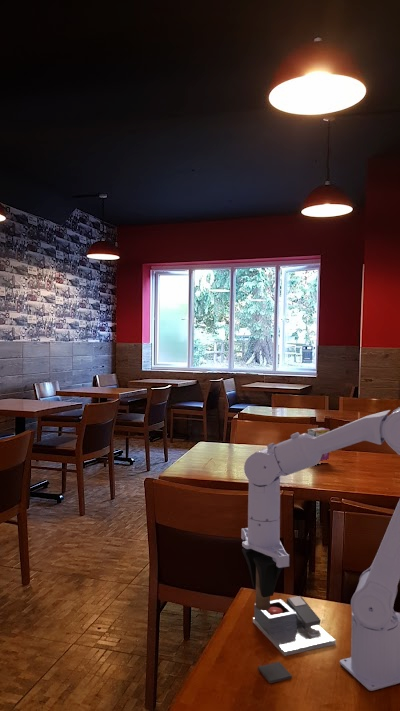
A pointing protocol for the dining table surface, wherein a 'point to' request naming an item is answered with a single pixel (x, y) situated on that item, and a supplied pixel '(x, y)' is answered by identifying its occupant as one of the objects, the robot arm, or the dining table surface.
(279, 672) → the pad
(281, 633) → the panel
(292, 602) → the block
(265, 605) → the dowel
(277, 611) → the button
